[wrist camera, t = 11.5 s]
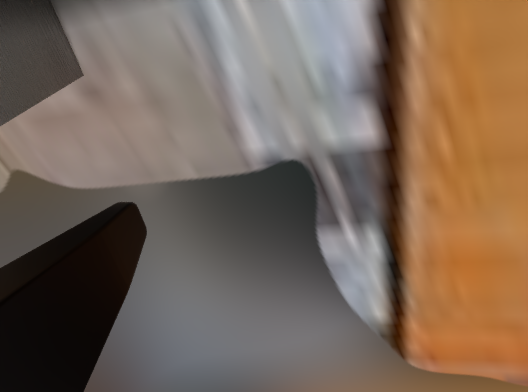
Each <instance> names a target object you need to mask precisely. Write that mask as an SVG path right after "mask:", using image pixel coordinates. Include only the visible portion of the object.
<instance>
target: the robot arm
mask: <svg viewBox="0 0 528 392" xmlns="http://www.w3.org/2000/svg"><path fill="white" fill-rule="evenodd" d="M146 235H147V230H146V226H145V223H144V221H143V219H142V216H141V214H140V211H139V209H138V207H137V205H136V204H135V203H133V202H118V203H116V204H114V205H112V206H110V207H109V208H107V209H105V210H103V211H101V212H100V213H98V214H96V215H94V216H92V217H91V218H89V219H87V220H85V221H84V222H82V223H80V224H78V225H77V226H75V227H73V228H71V229H69V230H67V231H66V232H64V233H62V234H60V235H59V236H57V237H55V238H53V239H52V240H50V241H48V242H46V243H44V244H42V245H41V246H39V247H37V248H36V249H34V250H32V251H30V252H28V253H26V254H25V255H23V256H21V257H19V258H17V259H16V260H14V261H12V262H10V263H9V264H7V265H5V266H3V267H1V268H0V392H84V390H85V388H86V385H87V383H88V381H89V378H90V376H91V374H92V372H93V370H94V367H95V365H96V363H97V361H98V358H99V356H100V354H101V352H102V349H103V347H104V345H105V343H106V340H107V338H108V336H109V333H110V331H111V329H112V327H113V325H114V322H115V320H116V318H117V316H118V313H119V311H120V309H121V307H122V304H123V302H124V300H125V298H126V295H127V293H128V290H129V288H130V285H131V282H132V279H133V276H134V273H135V270H136V267H137V264H138V261H139V258H140V254H141V251H142V248H143V245H144V242H145V239H146Z"/></svg>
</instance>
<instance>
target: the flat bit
mask: <svg viewBox="0 0 528 392" xmlns="http://www.w3.org/2000/svg"><path fill="white" fill-rule="evenodd" d="M82 76H84V75H83V73H82V71H81V68H80V66H79V64H78V62H77V60H76V57H75V55H74V53H73V51H72V48H71V46H70V44H69V42H68V40H67V37H66V35H65V33H64V31H63V29H62V26H61V24H60V22H59V20H58V17H57V15H56V13H55V11H54V9H53V6H52V4H51V2H50V0H0V126H1V125H3V124H5V123H6V122H8V121H10V120H11V119H13V118H15V117H16V116H18V115H20V114H21V113H23V112H24V111H26V110H28V109H29V108H31V107H33V106H34V105H36V104H38V103H39V102H41V101H43V100H44V99H46V98H48V97H49V96H51V95H52V94H54V93H56V92H57V91H59V90H61V89H62V88H64V87H66V86H67V85H69V84H71V83H72V82H74V81H75V80H77V79H79V78H80V77H82Z"/></svg>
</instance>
